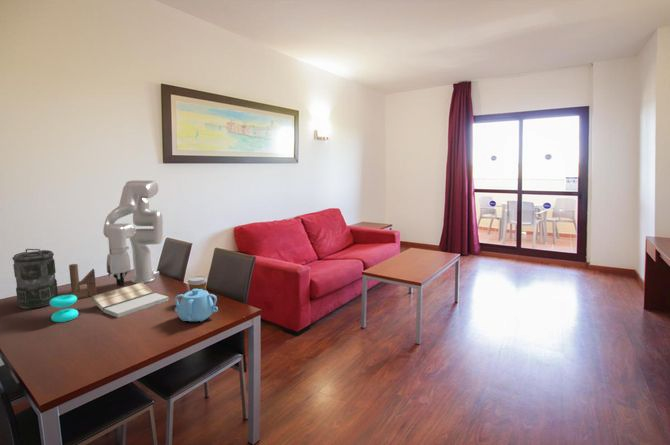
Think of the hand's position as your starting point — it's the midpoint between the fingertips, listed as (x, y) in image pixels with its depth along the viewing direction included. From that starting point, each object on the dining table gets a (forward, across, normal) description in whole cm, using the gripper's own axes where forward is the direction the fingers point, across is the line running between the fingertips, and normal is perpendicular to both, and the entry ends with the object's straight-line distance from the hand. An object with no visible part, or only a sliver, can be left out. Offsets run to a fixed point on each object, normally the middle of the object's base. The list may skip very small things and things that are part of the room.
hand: (120, 285), depth 189 cm
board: (+8, 0, +14) cm, 16 cm away
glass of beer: (+8, -21, +32) cm, 40 cm away
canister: (+8, +24, -30) cm, 40 cm away
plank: (+6, 0, +2) cm, 6 cm away
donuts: (+8, +26, 0) cm, 27 cm away
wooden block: (+8, +7, -22) cm, 25 cm away
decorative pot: (+8, -6, +50) cm, 51 cm away
